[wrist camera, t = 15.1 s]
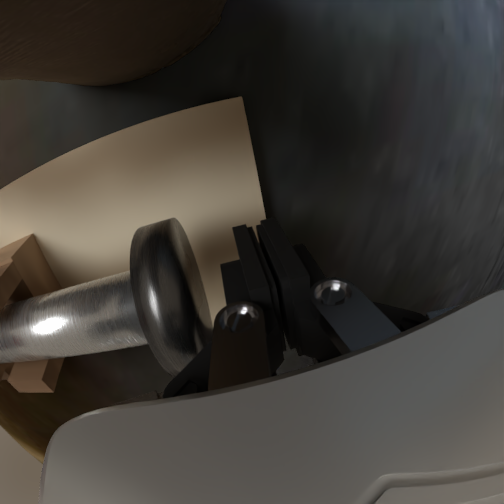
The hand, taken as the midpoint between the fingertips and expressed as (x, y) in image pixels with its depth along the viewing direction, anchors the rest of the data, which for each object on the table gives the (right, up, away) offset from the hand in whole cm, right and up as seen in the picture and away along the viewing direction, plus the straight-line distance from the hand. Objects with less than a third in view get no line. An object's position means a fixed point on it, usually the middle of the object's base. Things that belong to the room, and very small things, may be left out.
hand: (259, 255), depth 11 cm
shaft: (-9, -2, +1) cm, 9 cm away
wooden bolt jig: (-15, -2, +2) cm, 15 cm away
